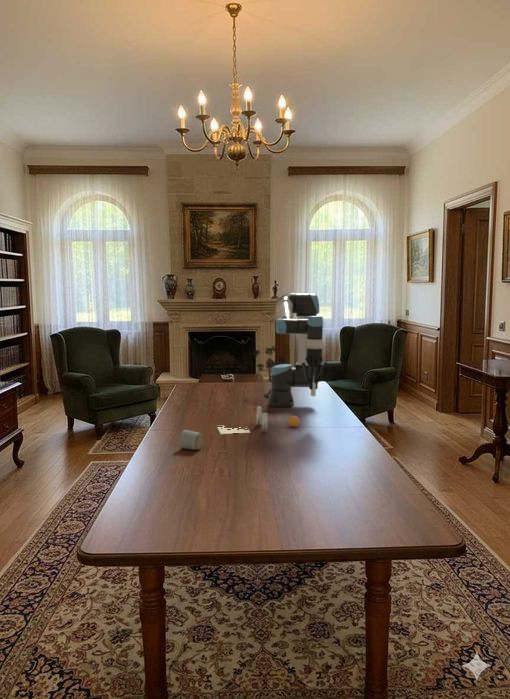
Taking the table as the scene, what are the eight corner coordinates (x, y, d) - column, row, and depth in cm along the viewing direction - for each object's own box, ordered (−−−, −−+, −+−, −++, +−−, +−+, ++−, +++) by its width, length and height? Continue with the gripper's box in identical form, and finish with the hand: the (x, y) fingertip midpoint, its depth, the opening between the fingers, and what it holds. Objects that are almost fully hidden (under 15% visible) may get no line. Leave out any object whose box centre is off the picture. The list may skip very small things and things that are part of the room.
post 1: (260, 423, 250) (261, 406, 249) (262, 425, 247) (262, 407, 246) (256, 424, 249) (256, 406, 248) (257, 425, 247) (257, 407, 246)
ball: (297, 425, 249) (297, 414, 248) (300, 428, 243) (301, 416, 243) (286, 425, 248) (287, 414, 247) (289, 428, 242) (290, 417, 242)
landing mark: (244, 424, 247) (244, 424, 247) (250, 432, 234) (250, 432, 234) (216, 426, 245) (216, 425, 245) (220, 434, 231) (220, 433, 231)
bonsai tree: (252, 391, 330) (253, 343, 326) (289, 391, 330) (290, 343, 326) (252, 403, 295) (253, 349, 291) (293, 403, 295) (295, 350, 292)
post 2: (266, 430, 238) (267, 412, 236) (267, 432, 235) (268, 413, 234) (261, 431, 237) (261, 412, 236) (262, 432, 235) (263, 413, 233)
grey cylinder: (196, 452, 205) (196, 434, 204) (178, 450, 208) (178, 432, 207) (207, 445, 215) (207, 428, 214) (189, 443, 218) (190, 426, 217)
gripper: (324, 346, 248) (323, 393, 250) (299, 347, 245) (298, 394, 248) (329, 348, 240) (328, 397, 243) (303, 348, 238) (302, 397, 240)
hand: (313, 395), depth 245 cm, fingers closed
